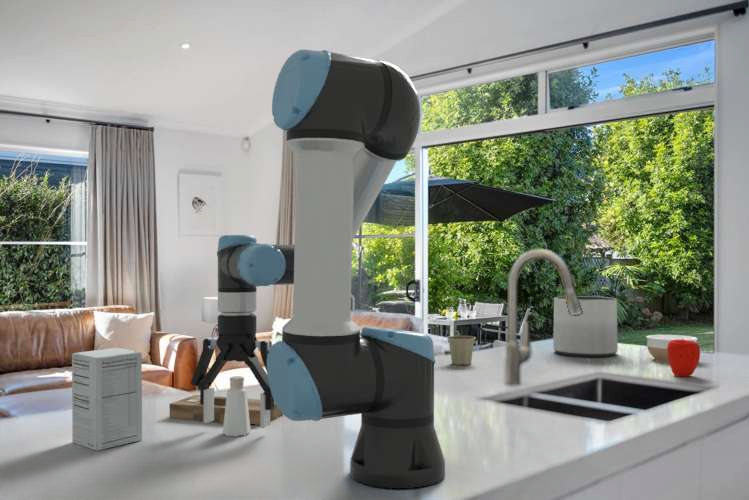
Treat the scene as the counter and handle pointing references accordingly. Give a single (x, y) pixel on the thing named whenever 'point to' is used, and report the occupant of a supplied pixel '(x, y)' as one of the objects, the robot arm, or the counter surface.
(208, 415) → the robot arm
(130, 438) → the supplement box
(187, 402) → the brown flat tray
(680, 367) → the apple
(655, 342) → the bowl
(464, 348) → the flower pot
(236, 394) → the pepper shaker
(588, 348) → the planter
